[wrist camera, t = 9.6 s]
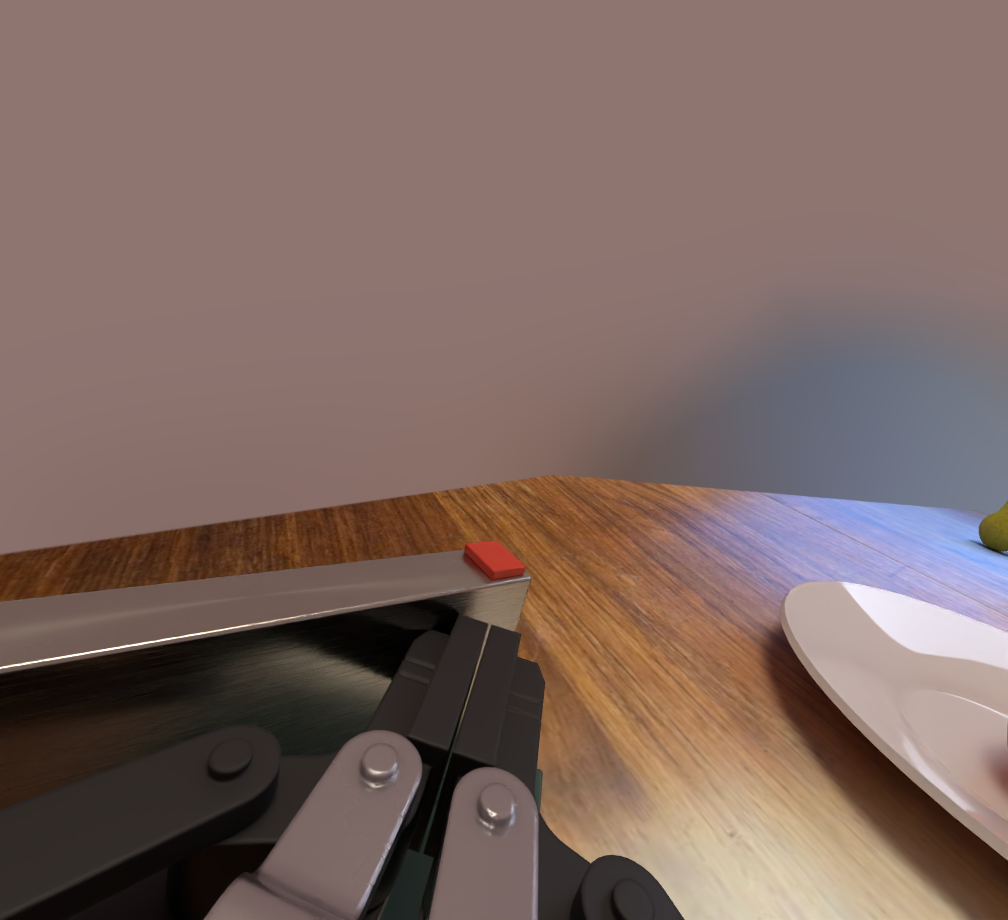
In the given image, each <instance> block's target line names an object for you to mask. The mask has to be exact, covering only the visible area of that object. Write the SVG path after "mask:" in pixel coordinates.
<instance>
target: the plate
mask: <svg viewBox="0 0 1008 920" xmlns="http://www.w3.org/2000/svg"><path fill="white" fill-rule="evenodd" d="M780 619H781V623H782V627H783V630H784V632H785V634H786V637H787V639H788V641H789V643H790V645H791V647H792V648H793V650H794V652H795V653H796V655H797V657H798V658H799V660H800V661H801V663H802V664H803V665H804V667H805V668H806V670H807V671H808V672H809V674H810V675H811V677H812V678H813V679H814V680H815V681H816V683H817V684H818V685H819V686H820V688H821V689H822V690H823V691H824V693H825V694H826V695H827V696H828V697H829V698H830V700H831V701H832V702H833V703H834V704H835V705H836V706H837V707H838V708H839V709H840V711H841V712H842V713H843V714H844V715H845V716H846V717H847V718H848V719H849V720H850V721H851V722H852V724H853V725H854V726H855V727H856V728H857V729H858V730H859V731H860V732H861V733H862V734H863V735H864V736H865V737H866V738H867V739H868V740H869V741H870V742H871V743H872V744H873V745H874V746H875V747H876V748H877V749H878V750H880V751H881V752H882V753H883V754H884V755H885V756H886V757H887V758H888V759H889V760H890V761H891V762H893V763H894V764H895V765H896V766H897V767H898V768H899V769H900V770H901V771H902V772H903V773H904V774H905V775H907V776H908V777H909V778H910V779H911V780H912V781H913V782H914V783H915V784H917V785H918V786H919V787H920V788H921V789H922V790H923V791H925V792H926V793H927V794H928V795H929V796H930V797H932V798H933V799H934V800H935V801H936V802H937V803H938V804H940V805H941V806H942V807H943V808H944V809H945V810H947V811H948V812H949V813H950V814H951V815H952V816H953V817H955V818H956V819H957V820H958V821H960V822H961V823H962V824H963V825H965V826H966V827H967V828H968V829H969V830H971V831H972V832H973V833H974V834H976V835H977V836H978V837H979V838H980V839H982V840H983V841H984V842H985V843H987V844H988V845H989V846H990V847H992V848H993V849H994V850H995V851H996V852H998V853H999V854H1000V855H1001V856H1003V857H1004V858H1005V859H1006V860H1008V633H1007V632H1004V631H1002V630H999V629H997V628H995V627H992V626H990V625H987V624H984V623H982V622H979V621H977V620H974V619H972V618H969V617H966V616H964V615H961V614H958V613H956V612H953V611H950V610H947V609H944V608H941V607H939V606H936V605H933V604H930V603H927V602H924V601H921V600H917V599H914V598H911V597H908V596H904V595H901V594H897V593H894V592H890V591H886V590H882V589H878V588H874V587H869V586H864V585H859V584H853V583H847V582H837V581H814V582H808V583H803V584H801V585H798V586H796V587H795V588H793V589H792V590H791V591H790V592H788V593H787V594H786V595H785V596H784V598H783V600H782V601H781V605H780Z"/></svg>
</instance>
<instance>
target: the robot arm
mask: <svg viewBox="0 0 1008 920" xmlns="http://www.w3.org/2000/svg"><path fill="white" fill-rule="evenodd" d="M488 625H489V623H486V622H483V621H479V620H476V619H473V618H470V617H467V616H464V615H461V614H459V615H458V617H457V620H456V622H455V624H454V627H453V629H452V631H451V634H450V635H448V634H445V633H441V632H438V631H435V630H432V629H431V630H428V631H426V632H425V633H423V634H422V635H421V636H419V637H418V638H416V639H415V640H414V641H413V643H412V644H411V646H410V648H409V650H408V652H407V654H406V655H405V658H404V660H403V661H402V663H401V665H400V666H399V668H398V670H397V673H396V674H395V676H394V677H393V679H392V681H391V683H390V685H389V687H388V688H387V690H386V692H385V694H384V696H383V698H382V699H381V701H380V703H379V705H378V707H377V709H376V710H375V712H374V714H373V716H372V718H371V720H370V721H369V723H368V725H367V727H366V728H365V730H364V732H363V733H361V734H359V735H357V736H355V737H354V738H352V739H350V740H349V741H348V742H347V743H346V744H345V745H344V746H343V747H342V748H341V749H340V750H338V751H336V752H332V753H329V754H324V755H312V756H309V755H281V748H280V745H279V742H278V741H277V739H276V738H275V737H274V736H273V735H272V734H271V733H270V732H269V731H267V730H266V729H263V728H261V727H259V726H254V725H247V724H238V725H230V726H225V727H222V728H219V729H216V730H213V731H211V732H208V733H205V734H202V735H200V736H197V737H194V738H192V739H189V740H186V741H184V742H181V743H178V744H175V745H173V746H170V747H167V748H165V749H162V750H159V751H156V752H154V753H151V754H148V755H146V756H143V757H140V758H138V759H135V760H132V761H129V762H127V763H124V764H121V765H119V766H116V767H113V768H111V769H108V770H105V771H102V772H100V773H97V774H94V775H92V776H89V777H86V778H83V779H81V780H78V781H75V782H73V783H70V784H67V785H65V786H62V787H59V788H56V789H54V790H51V791H48V792H46V793H43V794H40V795H37V796H35V797H32V798H29V799H27V800H24V801H21V802H19V803H16V804H13V805H10V806H8V807H5V808H2V809H0V920H380V919H381V917H382V914H383V912H384V909H385V907H386V904H387V902H388V899H389V896H390V893H391V892H392V890H393V889H394V887H395V885H396V883H397V880H398V878H399V875H400V872H401V869H402V866H403V863H404V860H405V857H406V854H407V851H408V849H410V850H413V851H416V852H418V853H420V849H421V846H422V843H423V840H424V837H425V833H426V830H427V827H428V824H429V820H430V817H431V814H432V811H433V807H434V804H435V801H436V798H437V795H438V791H439V788H440V785H441V782H442V778H443V775H444V772H445V769H446V766H447V762H448V759H449V756H450V753H451V749H452V746H453V743H454V740H455V736H456V733H457V730H458V727H459V724H460V720H461V717H462V714H463V711H464V707H465V704H466V701H467V698H468V694H469V691H470V687H471V684H472V681H473V677H474V674H475V670H476V667H477V663H478V660H479V656H480V653H481V649H482V646H483V642H484V639H485V635H486V632H487V628H488ZM520 638H521V633H517V632H514V631H511V630H508V629H505V628H502V627H499V626H496V625H492V624H491V627H490V630H489V634H488V637H487V640H486V643H485V647H484V650H483V653H482V656H481V660H480V663H479V666H478V670H477V673H476V676H475V679H474V683H473V686H472V689H471V692H470V696H469V699H468V702H467V706H466V709H465V712H464V715H463V719H462V722H461V725H460V728H459V732H458V735H457V738H456V741H455V745H454V748H453V751H452V755H451V758H450V762H449V765H448V769H447V772H446V776H445V779H444V783H443V786H442V790H441V793H440V797H439V800H438V804H437V807H436V811H435V814H434V818H433V821H432V825H431V828H430V832H429V835H428V839H427V842H426V846H425V849H424V853H423V854H425V855H428V856H430V857H433V858H434V859H433V862H432V866H431V870H430V873H429V877H428V880H427V884H426V887H425V891H424V895H423V898H422V901H421V905H420V908H419V912H418V915H417V920H684V918H683V917H682V915H681V914H680V912H679V911H678V909H677V908H676V906H675V905H674V903H673V902H672V901H671V899H670V898H669V896H668V895H667V893H666V892H665V890H664V889H663V888H662V886H661V885H660V884H659V882H658V881H657V880H656V879H655V878H654V877H653V876H652V875H651V874H650V873H649V872H648V871H647V870H646V869H645V868H643V867H642V866H641V865H639V864H637V863H636V862H634V861H632V860H630V859H628V858H625V857H622V856H617V855H607V856H603V857H600V858H598V859H596V860H595V861H593V862H592V863H589V862H588V861H587V860H585V859H584V858H583V857H581V856H580V855H579V854H577V853H576V852H574V851H573V850H572V849H570V848H569V847H568V846H566V845H565V844H564V843H563V842H562V841H560V840H559V839H558V838H557V837H556V836H555V835H554V834H553V832H552V831H551V830H550V829H549V827H548V826H547V825H546V823H545V821H544V819H543V818H542V816H541V813H540V811H539V809H538V806H537V802H536V797H535V780H536V770H537V760H538V749H539V739H540V729H541V718H542V709H543V706H542V705H543V699H544V689H545V681H544V679H543V676H542V673H541V671H540V668H539V666H538V663H534V662H531V661H528V660H525V659H522V658H519V657H517V653H518V648H519V643H520Z"/></svg>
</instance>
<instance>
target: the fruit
mask: <svg viewBox="0 0 1008 920" xmlns="http://www.w3.org/2000/svg"><path fill="white" fill-rule="evenodd" d="M979 536H980V539H981V541H982V542H983V543H984V544H985V545H986V546H988V547H989V548H991V549H994V550H997V551H1008V501H1007V503H1006V504H1005V505H1004V506H1003V507H1002V508H1001V509H1000V510H999V511H998V512H996V513H994V514H992V515H990V516H988V517H986V518H985V519H984V520H983V521H982V522H981V523H980V525H979Z"/></svg>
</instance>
